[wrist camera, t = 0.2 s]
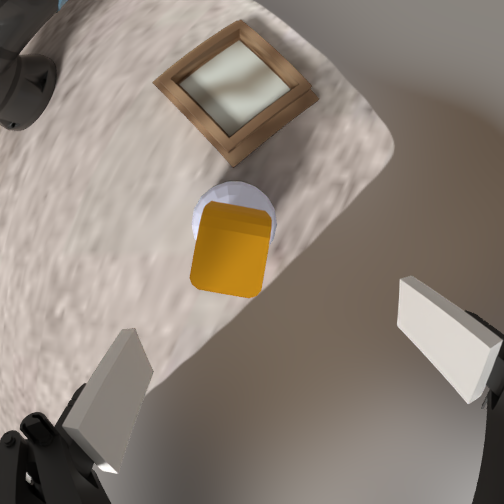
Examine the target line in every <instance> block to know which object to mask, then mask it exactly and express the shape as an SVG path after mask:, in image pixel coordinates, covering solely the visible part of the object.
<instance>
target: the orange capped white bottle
mask: <svg viewBox="0 0 504 504" xmlns="http://www.w3.org/2000/svg"><path fill="white" fill-rule="evenodd" d="M276 226H277V222H276V215H275V210H274V208H273V206H272V204H271V202H270V200H269V198H268V197H267V196H266V195H265V194H264V193H263V192H261V191H260V190H259V189H258V188H257V187H255V186H253V185H250V184H247V183H245V182H242V181H228V182H225V183H222V184H219V185H216V186H213V187H212V188H211V189H209V190H208V191H207V192H206V193H205V194H204V195H202V196H201V198H200V200H199V201H198V203H197V205H196V207H195V208H194V212H193V218H192V228H193V233H194V238H195V240H196V244H195V250H194V255H193V261H192V267H191V273H190V280H191V283H192V285H193V286H195V287H196V288H197V289H199V290H205V291H210V292H216V293H221V294H227V295H233V296H239V297H245V298H251V297H254V296H257V295H258V294H259V292H260V291H261V288H262V283H263V277H264V271H265V266H266V260H267V254H268V248H269V246H270V244H271V242H272V241H273V239H274V235H275V231H276Z"/></svg>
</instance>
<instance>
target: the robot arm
mask: <svg viewBox="0 0 504 504" xmlns="http://www.w3.org/2000/svg"><path fill="white" fill-rule="evenodd" d="M67 1H68V0H0V125H1V126H3V127H4V128H6V129H8V130H14V131H21V130H24V129H26V128H27V127H29V126H30V125H32V124H33V123H34V122H35V121H36V120H37V119H38V117H39V116H40V115H41V114H42V112H43V111H44V109H45V107H46V106H47V104H48V102H49V100H50V98H51V95H52V93H53V90H54V86H55V82H56V67H55V64H54V62H53V61H52V60H51V59H50V58H48V57H46V56H44V55H40V54H30V55H19V53H20V52H21V51H22V50H23V48H24V47H25V46H26V45H27V44H28V42H29V41H30V40H31V39H32V38H33V36H34V35H35V34H36V33H37V32H38V31H39V30H40V29H41V27H42V26H43V25H44V24H45V23H46V22H47V21H48V20H49V19H50V18H51V17H52V16H53V15H54V14H55V13H57V12H58V11H59V10H60V9H61V7H62V6H63V5H64V4H65V3H66V2H67ZM397 326H398V327H399V328H400V329H401V330H402V331H403V332H404V333H405V335H406V336H407V337H408V338H409V339H410V340H411V341H412V342H413V343H414V344H415V345H416V346H417V347H418V348H419V349H420V350H421V352H422V353H423V354H424V355H425V356H426V357H427V358H428V359H429V360H430V361H431V362H432V363H433V365H434V366H435V367H436V368H437V369H438V370H439V371H440V372H441V374H442V375H443V376H444V377H445V378H446V379H447V380H448V381H449V383H451V385H452V386H453V387H454V388H455V389H456V391H457V392H458V393H459V394H460V395H461V396H462V398H463V399H464V400H465V401H466V402H467V403H468V404H469V403H471V402H472V401H474V400H475V399H477V398H478V397H480V396H481V395H482V392H483V390H484V388H485V386H486V385H487V386H488V387H489V388H490V390H489V392H488V394H487V396H486V398H485V401H484V402H483V404H482V408H481V409H483V408H484V407H485V405H486V403H487V420H486V433H485V442H484V449H483V456H482V463H481V468H480V473H479V478H478V482H477V487H476V491H475V495H474V498H473V502H472V504H504V335H503V334H502V333H501V332H500V331H498V330H497V329H495V328H494V327H493V326H491V325H489V323H487V322H486V321H483V319H482V318H480V317H479V316H478V315H476V314H474V313H472V312H469V311H463V310H462V309H460V308H459V307H457V306H456V305H455V304H453V303H452V302H450V301H449V300H447V299H446V298H445V297H443V296H442V295H440V294H439V293H437V292H436V291H434V290H433V289H431V288H430V287H428V286H427V285H425V284H424V283H422V282H421V281H419V280H418V279H416V278H415V277H413V276H409V277H405V278H402V279H400V291H399V308H398V321H397ZM153 372H154V371H153V369H152V367H151V365H150V363H149V360H148V358H147V356H146V353H145V351H144V349H143V346H142V344H141V342H140V339H139V337H138V334H137V332H136V329H135V328H132V329H122V330H121V332H120V333H119V335H118V336H117V338H116V339H115V341H114V342H113V344H112V345H111V347H110V348H109V350H108V351H107V353H106V354H105V356H104V357H103V359H102V360H101V362H100V363H99V365H98V367H97V368H96V370H95V371H94V373H93V374H92V376H91V378H90V379H89V381H88V382H87V383H84V384H83V385H82V386H81V387H80V388H79V389H77V390H76V392H75V393H74V395H73V397H72V398H71V399H72V400H70V401H69V403H68V407H67V406H66V408H65V410H64V411H63V413H62V415H61V416H60V418H59V420H58V421H57V423H56V425H55V427H54V426H53V425H52V424H51V422H50V421H49V420H48V419H47V417H46V416H45V415H44V414H43V413H40V412H35V413H31V414H30V415H28V416H26V417H25V418H24V419H23V421H22V423H21V424H20V430H21V431H22V432H23V434H24V435H25V436H26V437H27V438H28V439H24V438H23V437H22V436H21V435H20V433H19V432H17V431H14V430H11V431H8V432H6V433H5V434H4V435H3V436H2V438H1V440H0V504H111V502H110V500H109V498H108V496H107V495H106V493H105V491H104V489H103V487H102V485H101V483H100V481H99V479H98V476H97V474H96V473H95V471H94V470H93V469H92V467H93V464H94V463H95V464H96V465H97V466H98V467H99V468H100V469H101V470H103V471H107V472H113V473H119V469H120V466H121V463H122V460H123V457H124V454H125V451H126V448H127V445H128V442H129V438H130V436H131V433H132V430H133V427H134V424H135V421H136V418H137V416H138V413H139V410H140V407H141V404H142V402H143V399H144V396H145V393H146V391H147V388H148V385H149V383H150V380H151V377H152V375H153ZM26 475H27V476H28V477H29V478H30V479H31V483H28V482H27V481H26Z"/></svg>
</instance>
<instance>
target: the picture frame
mask: <svg viewBox="0 0 504 504" xmlns="http://www.w3.org/2000/svg"><path fill="white" fill-rule="evenodd" d="M152 83H153V84H154V85H155V86H156V87H157V88H158V89H159V90H160V91H161V92H162V93H163V94H164V95H165V96H166V97H167V98H168V99H169V100H170V101H171V102H172V103H173V104H174V105H175V106H176V107H177V108H178V109H179V110H180V111H181V112H182V113H183V114H184V115H185V116H186V117H187V118H188V119H189V120H190V122H191V123H192V124H193V125H194V126H195V127H196V128H197V129H198V130H199V131H200V132H201V133H202V134H203V135H204V136H205V137H206V138H207V140H208V141H209V142H210V143H211V144H212V145H213V146H214V147H215V148H216V149H217V150H218V151H219V152H220V154H221V155H222V156H223V157H224V158H225V159H226V160H227V161H228V162H229V163H230V165H231V166H232V167H233V168H234V167H235V166H236V165H237V164H238V163H240V162H241V161H242V160H243V159H244V158H245V157H247V156H248V155H249V154H250V153H251V152H253V151H254V150H255V149H256V148H257V147H259V146H260V145H261V144H262V143H263V142H265V141H266V140H267V139H268V138H270V137H271V136H272V135H273V134H275V133H276V132H277V131H278V130H280V129H281V128H282V127H284V126H285V125H286V124H287V123H289V122H290V121H291V120H293V119H294V118H295V117H297V116H298V115H299V114H300V113H302V112H303V111H304V110H306V109H307V108H309V107H310V106H311V105H313V104H314V103H315V102H317V101H318V100H319V98H318V97H317V96H316V95H315V94H314V92H313V91H312V90H311V87H312V85H311V84H310V83H309V82H308V81H307V80H306V79H305V78H304V77H303V76H302V75H301V74H300V73H299V72H298V71H297V70H296V69H295V68H294V67H293V66H292V65H291V64H290V63H289V62H288V61H287V60H286V59H285V58H284V57H283V56H282V55H281V54H280V53H279V52H278V51H277V50H276V49H275V48H273V47H272V46H271V45H270V44H269V43H268V42H267V41H266V40H265V39H263V38H262V37H261V36H260V35H259V34H258V33H256V32H255V31H254V30H253V29H252V28H250V27H249V26H248V25H247V24H246V23H244V22H243V21H242V20H239V21H235V22H234V23H232V24H230V25H229V26H227V27H226V28H224V29H222V30H221V31H219V32H218V33H216V34H215V35H213V36H212V37H210V38H209V39H207V40H206V41H204V42H203V43H201V44H200V45H199V46H197V47H196V48H195V49H193V50H192V51H190V52H189V53H188V54H186V55H185V56H184V57H183V58H181V59H180V60H179V61H177V62H176V63H175V64H174V65H172V66H171V67H170V68H169V69H167V70H166V71H165V72H164V73H163V74H162V75H160V76H159V77H158V78H157V79H156V80H155V81H153V82H152Z"/></svg>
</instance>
